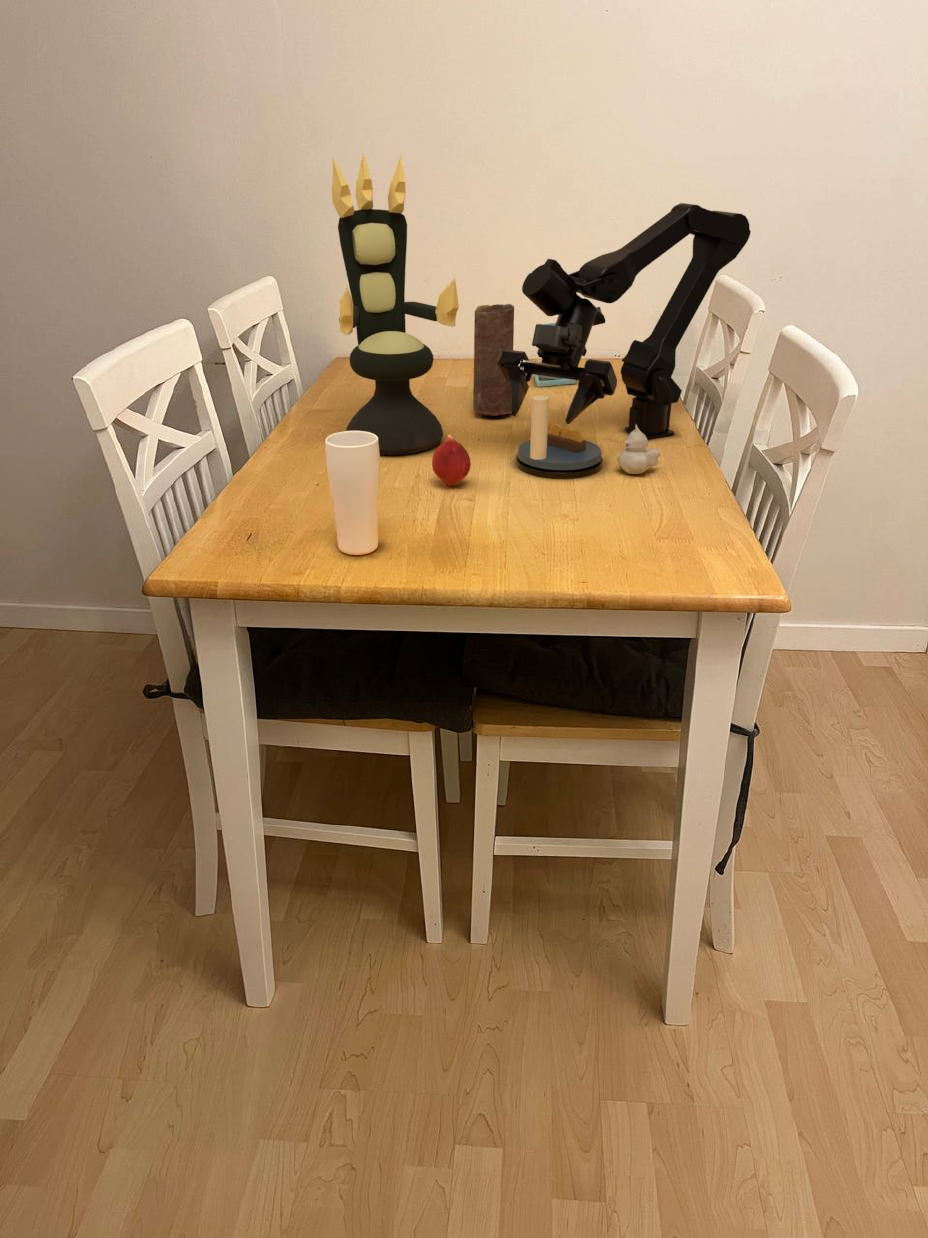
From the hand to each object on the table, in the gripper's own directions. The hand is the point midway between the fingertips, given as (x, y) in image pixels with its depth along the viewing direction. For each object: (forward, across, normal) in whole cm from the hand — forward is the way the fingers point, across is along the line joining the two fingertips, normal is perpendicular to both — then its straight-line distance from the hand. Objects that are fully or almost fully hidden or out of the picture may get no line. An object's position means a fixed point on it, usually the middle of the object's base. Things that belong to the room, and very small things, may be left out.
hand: (539, 418), depth 150 cm
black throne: (+4, -30, +8) cm, 31 cm away
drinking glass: (+34, -8, -22) cm, 41 cm away
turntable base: (+3, +2, +9) cm, 9 cm away
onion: (+15, -9, -3) cm, 18 cm away
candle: (-11, -20, +23) cm, 32 cm away
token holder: (+2, +2, +8) cm, 8 cm away
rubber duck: (+2, +15, +10) cm, 18 cm away
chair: (-31, -19, +43) cm, 56 cm away
